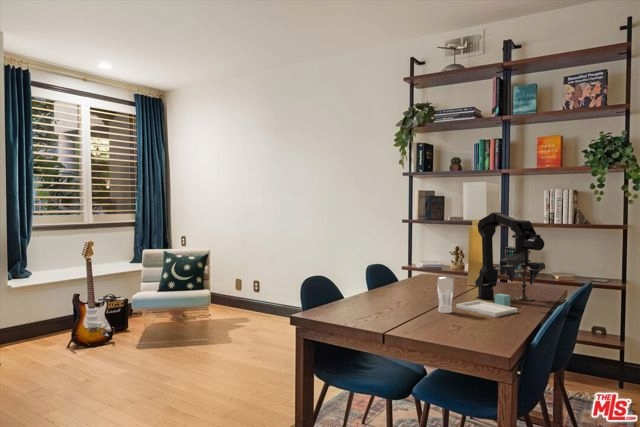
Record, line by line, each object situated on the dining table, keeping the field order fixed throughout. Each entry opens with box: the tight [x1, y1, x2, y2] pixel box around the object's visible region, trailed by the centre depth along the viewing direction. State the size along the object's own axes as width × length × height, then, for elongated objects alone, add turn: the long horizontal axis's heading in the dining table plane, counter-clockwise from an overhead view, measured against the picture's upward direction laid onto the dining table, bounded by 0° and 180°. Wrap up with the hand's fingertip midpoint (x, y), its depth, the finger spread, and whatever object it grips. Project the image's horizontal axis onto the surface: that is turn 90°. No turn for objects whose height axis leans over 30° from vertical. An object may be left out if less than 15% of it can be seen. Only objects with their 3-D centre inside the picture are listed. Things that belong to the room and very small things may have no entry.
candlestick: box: [513, 264, 535, 302], centre depth 224 cm, size 11×11×35 cm
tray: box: [456, 299, 518, 318], centre depth 200 cm, size 20×16×2 cm
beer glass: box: [436, 276, 455, 314], centre depth 197 cm, size 7×7×15 cm
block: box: [493, 293, 511, 307], centre depth 210 cm, size 5×5×5 cm
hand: (521, 283), depth 201 cm, fingers open, 9 cm apart
